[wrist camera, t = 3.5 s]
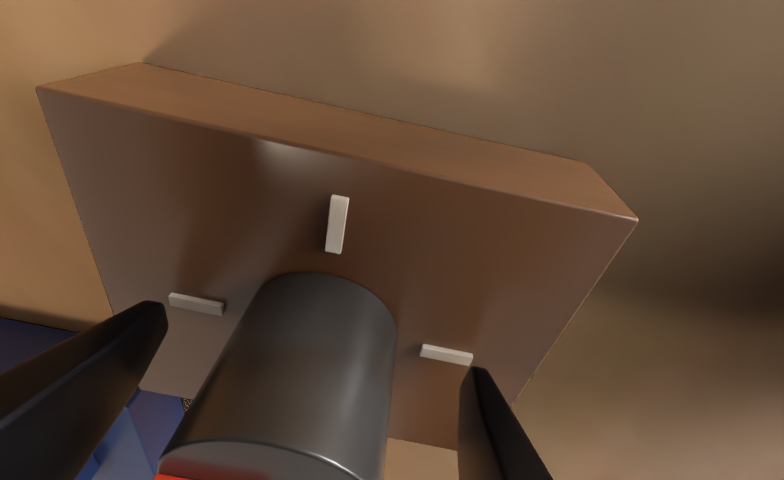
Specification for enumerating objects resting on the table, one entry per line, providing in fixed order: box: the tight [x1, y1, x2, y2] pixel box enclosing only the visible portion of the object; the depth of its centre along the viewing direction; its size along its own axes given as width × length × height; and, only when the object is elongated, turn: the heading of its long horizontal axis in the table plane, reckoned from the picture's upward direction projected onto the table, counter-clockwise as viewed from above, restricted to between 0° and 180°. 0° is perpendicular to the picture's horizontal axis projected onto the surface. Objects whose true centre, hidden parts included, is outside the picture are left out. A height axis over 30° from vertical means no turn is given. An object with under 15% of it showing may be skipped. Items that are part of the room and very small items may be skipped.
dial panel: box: [36, 62, 639, 451], centre depth 11 cm, size 12×10×3 cm
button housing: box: [0, 318, 185, 480], centre depth 17 cm, size 12×10×5 cm
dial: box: [153, 272, 397, 480], centre depth 8 cm, size 4×4×4 cm
